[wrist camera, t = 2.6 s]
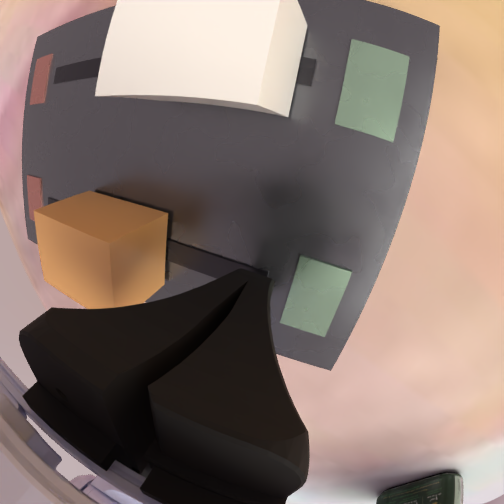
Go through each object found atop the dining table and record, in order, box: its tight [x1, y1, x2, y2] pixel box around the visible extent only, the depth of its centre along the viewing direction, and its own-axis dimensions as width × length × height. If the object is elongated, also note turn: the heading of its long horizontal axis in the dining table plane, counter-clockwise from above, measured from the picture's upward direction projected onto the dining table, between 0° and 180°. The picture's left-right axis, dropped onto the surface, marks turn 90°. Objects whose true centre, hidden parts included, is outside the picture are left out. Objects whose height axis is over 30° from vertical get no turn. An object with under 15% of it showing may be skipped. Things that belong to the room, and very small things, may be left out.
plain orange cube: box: [34, 191, 168, 309], centre depth 11 cm, size 4×5×4 cm
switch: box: [95, 0, 307, 117], centre depth 7 cm, size 4×5×4 cm
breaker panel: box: [22, 0, 440, 370], centre depth 11 cm, size 15×22×2 cm
